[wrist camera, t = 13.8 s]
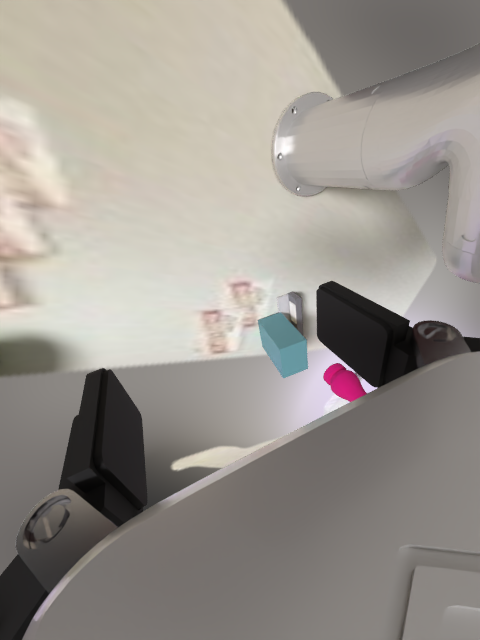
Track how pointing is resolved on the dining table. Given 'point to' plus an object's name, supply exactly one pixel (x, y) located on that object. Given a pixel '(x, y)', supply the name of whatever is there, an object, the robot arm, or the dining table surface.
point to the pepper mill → (344, 382)
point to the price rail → (291, 309)
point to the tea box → (283, 344)
